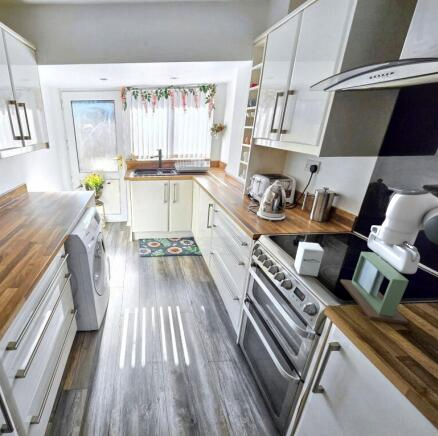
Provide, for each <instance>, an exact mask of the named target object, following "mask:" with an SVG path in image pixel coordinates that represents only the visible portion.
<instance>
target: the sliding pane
mask: <svg viewBox="0 0 438 436" xmlns="http://www.w3.org/2000/svg"><path fill="white" fill-rule="evenodd" d="M384 279H385V276H384V275H383V274H382V273H381V272H380V271H378V273H377V276H376V279H375V282H374V284H373V287H372V290H371V292H372V294H373V295H374V296H377V293H378V291H379V290H380V287H381V284H382V283H384Z"/></svg>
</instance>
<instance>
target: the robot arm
mask: <svg viewBox="0 0 438 436" xmlns="http://www.w3.org/2000/svg"><path fill="white" fill-rule="evenodd" d="M420 231H424V235H425V237H426V238H427V239H428V240H429V241H430V242H431V243H433V244H435V245H438V197H437V196H436V195H434V194H432V193H431V192H430V191H428V190H426V189H425V190H424V189H404V190H401V191H399V192H397V193H395V194H394V195H393V197H392V198H391V200H390V202H389V204H388V207H387V208H386V212H385V219H384V221H383V222H382V224H381V225H371V228H370V233H369V235H368V238H367V247H368V248H369V249H370V250H372V251H373V253H375V254H376V255H378V256H379V257H380V258H381V259H382V260H384V261H385V262H386V263H387V264H389V265H390V266H391V267H392V268H394V269H395V270H396V271H397V272H398V273H400V274H406V275H413V274H416V273H417V271H418V267H419V264H420V259H421V255H420V253H419V251H418V248H417V247H416V246H414V245H415V242H416V239H417V237H418V234H419V232H420Z"/></svg>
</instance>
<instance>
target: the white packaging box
mask: <svg viewBox="0 0 438 436" xmlns="http://www.w3.org/2000/svg"><path fill="white" fill-rule="evenodd" d="M324 252H325V250H324V249H323V247H322V246H321V245H320V244H319V243H317V242H307V241H305V242H304V241H299V242H298V247H297V251H296V255H295V260H294V264H293V265H294V269H295V270H296V272H297V275H303V276H304V275H306V276H310V277H311V276H313V277H318V275H319V272H320V268H321V264H322V259H323V257H324Z"/></svg>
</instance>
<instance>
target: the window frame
mask: <svg viewBox="0 0 438 436" xmlns="http://www.w3.org/2000/svg"><path fill="white" fill-rule="evenodd" d="M387 263H388V262H387V261H386V262H385V261H384V260H382V259H381V258H380V257H379V255H378V254H377V253H375V252H374V251H373V252H370V251H361V252H360V254H359V258H358V261H357V264H356V267H355V270H354V273H353V275H352V280H350V279H342V278H341V279H340V280H339V282H340V284H341V285H342V286H343V287H344V288H345V290H346V291H347V292H348V294H349V295H350V296H351V297H352V298H353V300H354V301H355V302H356V304H357V305H358V307H360V309H361V310H362V311H363V313H364V314H365V315H366V316H367V318H368V319H369V320H374V321H381V322H387V323H396V324H402V325H408V323H409V320H407V318H405V316H404V315H403V314H402V313H401V312H399V310H398V307H399V305H400V303H401V300H402V298H403V295H404V293H405V291H406V289H407V286H408V283H409V280H408V278H406V277H405V276H404V275H402V273H400V272H399V271H398V270H397V269H395V268H392V267H391V266H390V265H389V264H387ZM378 271H380V272H381V273H382V274H383V275H384V278H386V279H387V280H388V281H389V283H388V285H387V287H386V290H385V293H384V295H383V294H382V293H381V292H380V291H379V290H378V293H377V296H374V295H373V294H372V292H371V290H372V287H373V284H374V282H375V279H376V276H377V273H378Z"/></svg>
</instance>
